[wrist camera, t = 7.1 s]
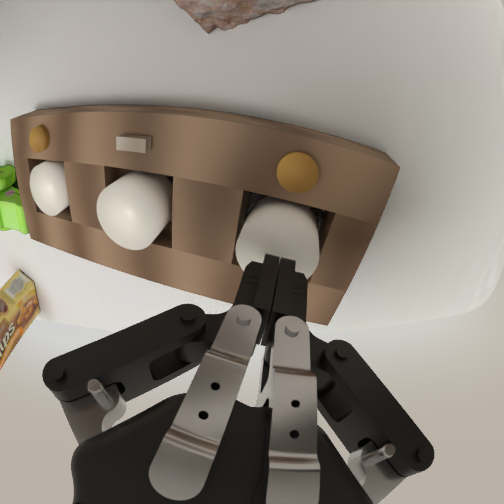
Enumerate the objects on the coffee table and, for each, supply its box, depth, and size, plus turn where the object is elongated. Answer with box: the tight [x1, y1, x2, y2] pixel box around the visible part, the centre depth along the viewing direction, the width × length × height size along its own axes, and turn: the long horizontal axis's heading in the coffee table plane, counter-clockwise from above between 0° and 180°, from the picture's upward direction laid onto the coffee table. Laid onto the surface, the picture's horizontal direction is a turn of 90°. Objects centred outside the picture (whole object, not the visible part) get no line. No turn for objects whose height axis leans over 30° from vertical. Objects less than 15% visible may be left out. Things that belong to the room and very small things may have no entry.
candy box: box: [0, 270, 40, 369], centre depth 26 cm, size 9×4×15 cm, turn 151°
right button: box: [236, 196, 319, 279], centre depth 15 cm, size 4×4×3 cm
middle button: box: [97, 170, 173, 250], centre depth 16 cm, size 4×4×3 cm
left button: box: [30, 160, 69, 216], centre depth 17 cm, size 4×4×3 cm
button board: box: [10, 105, 400, 325], centre depth 17 cm, size 28×12×4 cm, turn 80°
